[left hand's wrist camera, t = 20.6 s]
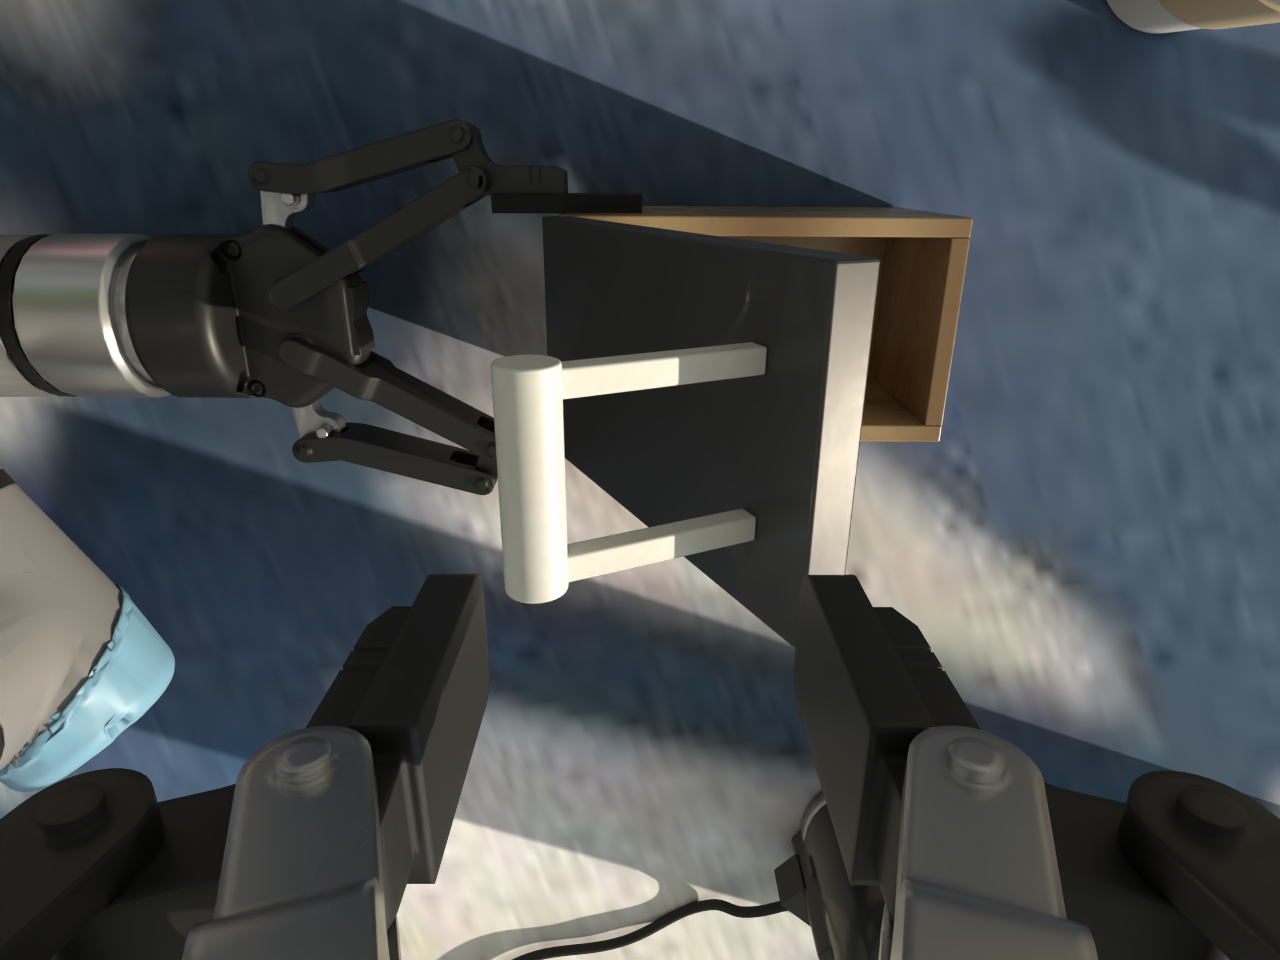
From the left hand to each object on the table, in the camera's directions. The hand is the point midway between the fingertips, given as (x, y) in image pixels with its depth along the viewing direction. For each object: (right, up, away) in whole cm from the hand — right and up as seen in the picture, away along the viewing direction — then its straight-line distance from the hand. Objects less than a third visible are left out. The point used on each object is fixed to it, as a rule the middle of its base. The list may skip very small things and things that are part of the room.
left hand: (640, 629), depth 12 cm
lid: (+1, +6, +14) cm, 15 cm away
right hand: (0, +10, +25) cm, 27 cm away
